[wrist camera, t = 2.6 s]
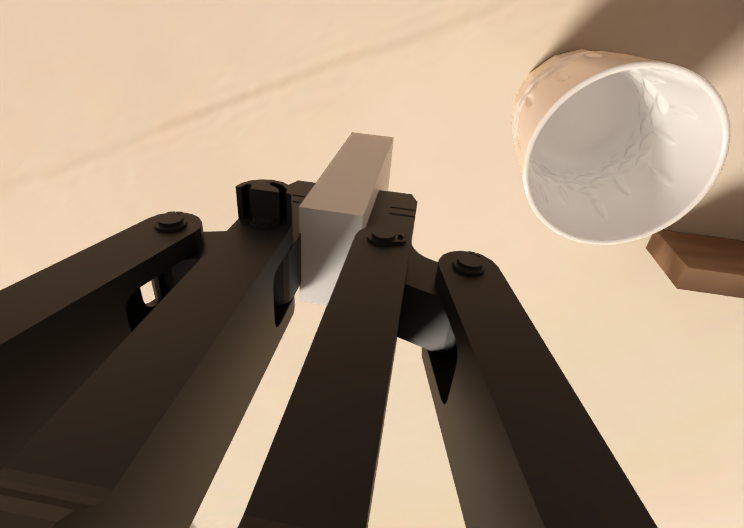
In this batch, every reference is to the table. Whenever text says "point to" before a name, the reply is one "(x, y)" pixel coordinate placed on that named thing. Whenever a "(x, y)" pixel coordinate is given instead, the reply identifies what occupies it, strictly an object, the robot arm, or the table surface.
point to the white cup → (616, 144)
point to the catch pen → (700, 262)
